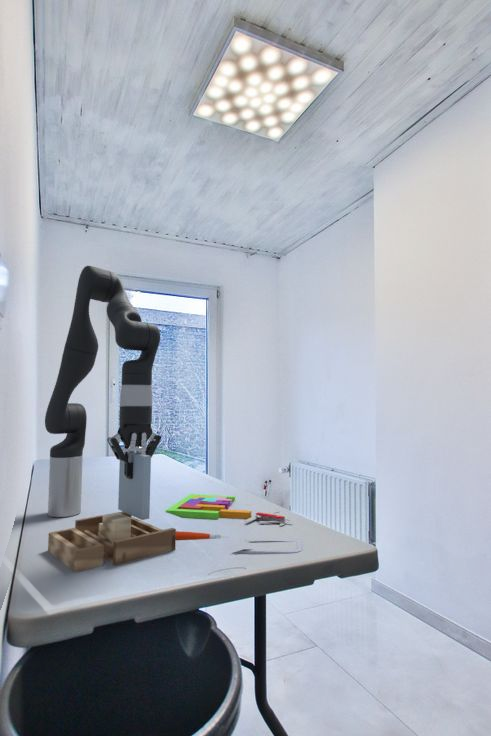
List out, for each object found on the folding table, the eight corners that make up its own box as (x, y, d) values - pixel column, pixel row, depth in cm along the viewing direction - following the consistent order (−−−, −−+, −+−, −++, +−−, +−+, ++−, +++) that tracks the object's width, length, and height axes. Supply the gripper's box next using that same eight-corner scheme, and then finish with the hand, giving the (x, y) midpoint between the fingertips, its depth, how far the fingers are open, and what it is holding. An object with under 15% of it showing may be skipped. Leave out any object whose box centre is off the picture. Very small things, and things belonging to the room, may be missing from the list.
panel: (118, 509, 105) (119, 451, 106) (125, 508, 106) (126, 450, 107) (142, 520, 96) (143, 456, 97) (149, 518, 97) (150, 455, 98)
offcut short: (102, 525, 98) (102, 515, 98) (118, 522, 101) (119, 512, 101) (113, 531, 94) (114, 520, 94) (130, 527, 96) (131, 517, 96)
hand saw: (300, 532, 106) (309, 546, 96) (300, 545, 106) (308, 561, 96) (168, 529, 105) (163, 543, 95) (167, 542, 104) (162, 558, 94)
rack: (74, 544, 102) (75, 520, 102) (129, 532, 111) (129, 510, 112) (115, 571, 86) (116, 542, 86) (175, 554, 95) (175, 528, 95)
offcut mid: (98, 533, 99) (98, 523, 100) (114, 529, 102) (115, 520, 102) (113, 541, 93) (113, 531, 94) (130, 537, 96) (130, 527, 96)
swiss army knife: (302, 520, 124) (301, 513, 124) (279, 532, 112) (279, 524, 112) (267, 514, 130) (267, 507, 130) (243, 525, 118) (243, 517, 119)
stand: (44, 556, 94) (45, 533, 94) (76, 549, 98) (77, 527, 99) (71, 579, 82) (72, 552, 82) (106, 569, 86) (107, 544, 87)
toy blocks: (165, 518, 127) (248, 522, 122) (165, 510, 127) (248, 514, 122) (190, 500, 149) (261, 504, 144) (190, 494, 149) (261, 497, 144)
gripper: (153, 404, 110) (151, 472, 109) (101, 404, 101) (99, 478, 100) (169, 404, 104) (167, 476, 103) (115, 404, 95) (113, 483, 94)
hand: (134, 477), depth 101 cm, fingers closed on panel, 2 cm apart
